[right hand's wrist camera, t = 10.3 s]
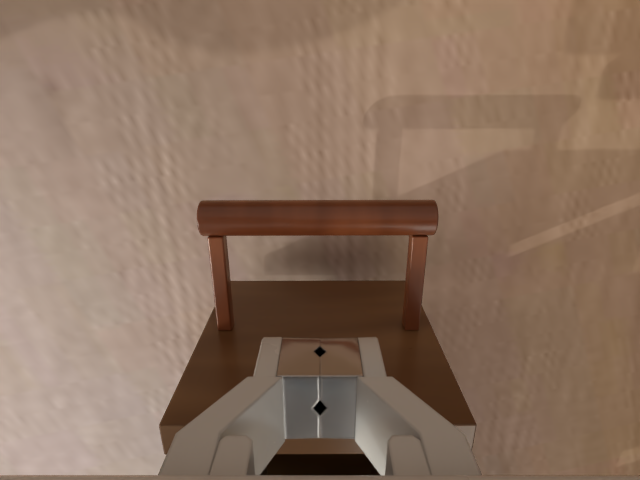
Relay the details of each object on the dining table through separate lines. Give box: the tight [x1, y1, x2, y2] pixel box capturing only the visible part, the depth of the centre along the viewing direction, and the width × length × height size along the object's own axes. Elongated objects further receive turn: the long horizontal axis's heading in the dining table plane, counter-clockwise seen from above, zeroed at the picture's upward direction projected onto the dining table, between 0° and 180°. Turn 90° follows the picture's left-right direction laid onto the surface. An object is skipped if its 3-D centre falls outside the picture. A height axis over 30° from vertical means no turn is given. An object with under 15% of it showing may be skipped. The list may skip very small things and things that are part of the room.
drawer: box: [159, 200, 476, 475], centre depth 19 cm, size 24×10×10 cm, turn 0°
